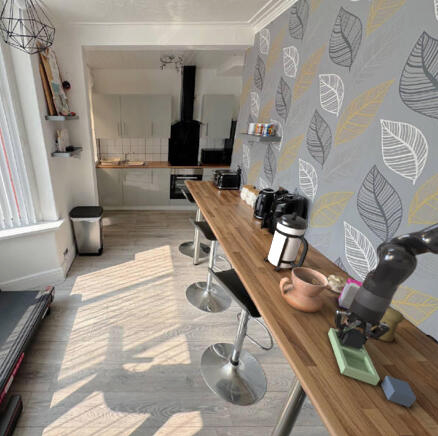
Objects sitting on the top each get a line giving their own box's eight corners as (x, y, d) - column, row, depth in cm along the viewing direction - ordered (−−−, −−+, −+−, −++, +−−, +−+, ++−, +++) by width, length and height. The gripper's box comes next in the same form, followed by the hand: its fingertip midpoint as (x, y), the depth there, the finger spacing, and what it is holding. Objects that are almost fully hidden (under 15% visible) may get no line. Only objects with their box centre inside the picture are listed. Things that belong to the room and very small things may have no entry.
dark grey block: (355, 338, 80) (359, 329, 78) (360, 349, 76) (365, 341, 74) (339, 333, 81) (343, 325, 80) (343, 344, 78) (347, 335, 76)
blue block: (400, 390, 68) (407, 382, 66) (409, 407, 64) (416, 398, 62) (380, 384, 69) (386, 375, 68) (387, 399, 65) (394, 391, 64)
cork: (397, 340, 83) (412, 317, 79) (383, 342, 82) (397, 319, 78) (379, 326, 89) (392, 304, 84) (366, 328, 88) (378, 305, 83)
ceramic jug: (315, 295, 103) (327, 269, 97) (329, 321, 90) (343, 292, 84) (271, 287, 107) (279, 261, 101) (278, 310, 94) (288, 282, 89)
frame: (356, 342, 82) (359, 336, 81) (375, 385, 69) (380, 379, 67) (327, 333, 85) (330, 327, 84) (341, 373, 72) (345, 367, 70)
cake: (346, 285, 111) (352, 276, 109) (349, 298, 103) (355, 288, 101) (322, 276, 116) (327, 267, 113) (323, 287, 108) (328, 279, 105)
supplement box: (357, 313, 94) (369, 291, 90) (338, 307, 97) (349, 285, 93) (355, 304, 99) (366, 282, 94) (337, 298, 102) (347, 277, 97)
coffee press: (259, 265, 122) (274, 213, 110) (268, 253, 134) (282, 204, 121) (297, 280, 112) (317, 224, 100) (303, 266, 123) (322, 213, 111)
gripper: (346, 302, 71) (327, 342, 78) (408, 318, 66) (381, 358, 73) (339, 287, 77) (321, 325, 84) (394, 300, 72) (371, 339, 79)
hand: (349, 340), depth 79 cm, fingers closed on dark grey block, 4 cm apart
